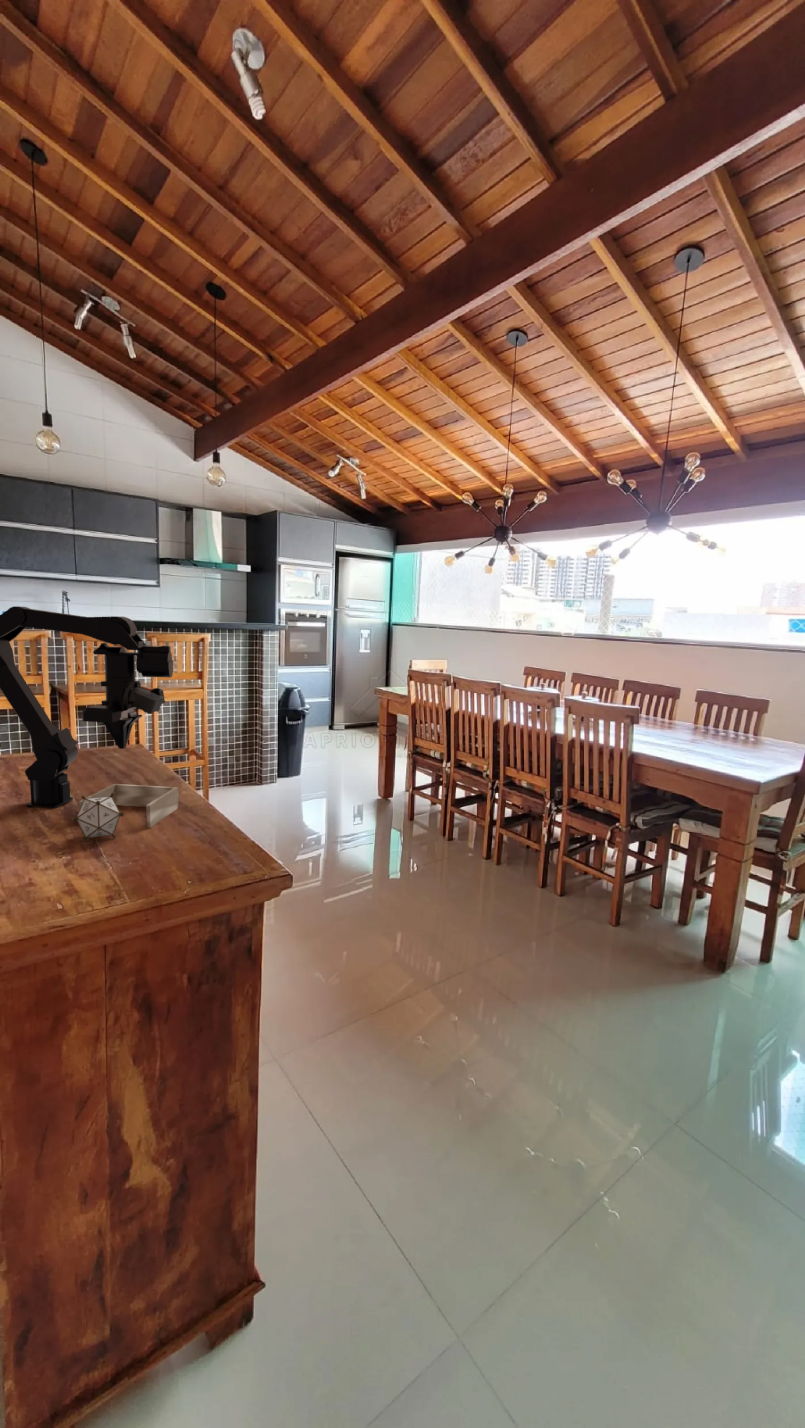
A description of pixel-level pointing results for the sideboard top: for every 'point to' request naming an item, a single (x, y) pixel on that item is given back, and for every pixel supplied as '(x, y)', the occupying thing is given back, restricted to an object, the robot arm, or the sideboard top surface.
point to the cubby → (143, 799)
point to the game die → (98, 816)
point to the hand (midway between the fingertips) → (122, 748)
